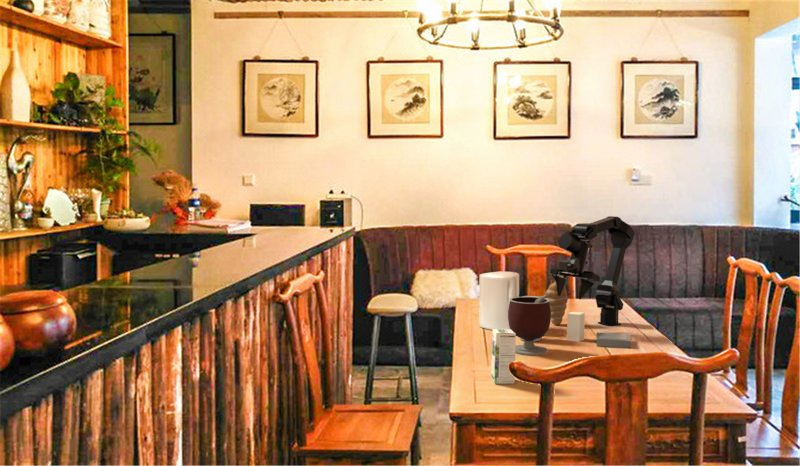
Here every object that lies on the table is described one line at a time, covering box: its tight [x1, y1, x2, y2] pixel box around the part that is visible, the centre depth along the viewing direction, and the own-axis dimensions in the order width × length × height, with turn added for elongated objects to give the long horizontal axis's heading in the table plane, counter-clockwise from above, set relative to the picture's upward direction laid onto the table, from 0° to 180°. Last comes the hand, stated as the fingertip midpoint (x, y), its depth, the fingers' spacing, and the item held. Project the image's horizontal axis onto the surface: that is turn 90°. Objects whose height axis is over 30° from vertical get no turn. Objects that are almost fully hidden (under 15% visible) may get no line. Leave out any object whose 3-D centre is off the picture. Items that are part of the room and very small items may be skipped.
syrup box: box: [490, 329, 517, 385], centre depth 205 cm, size 6×6×14 cm
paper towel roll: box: [478, 271, 520, 331], centre depth 274 cm, size 15×14×22 cm
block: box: [566, 311, 586, 342], centre depth 257 cm, size 4×4×10 cm
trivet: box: [595, 331, 632, 349], centre depth 251 cm, size 11×11×3 cm
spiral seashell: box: [544, 278, 569, 326], centre depth 282 cm, size 9×8×18 cm
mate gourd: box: [508, 294, 551, 357], centre depth 239 cm, size 16×14×20 cm
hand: (569, 297), depth 266 cm, fingers open, 9 cm apart
